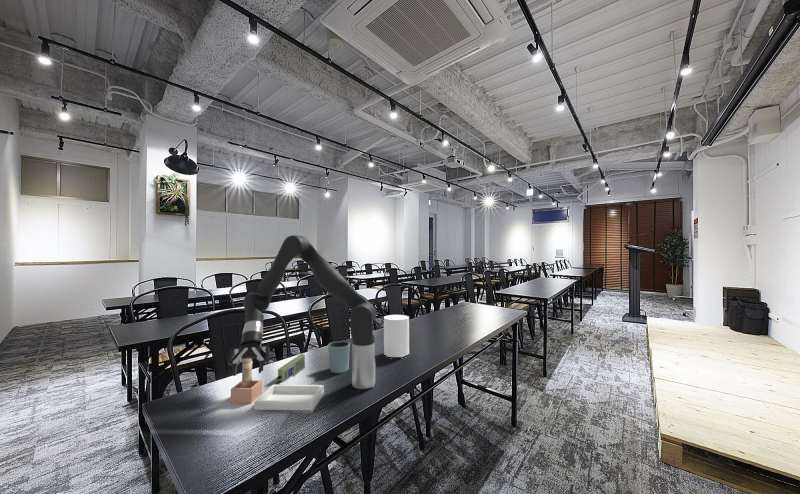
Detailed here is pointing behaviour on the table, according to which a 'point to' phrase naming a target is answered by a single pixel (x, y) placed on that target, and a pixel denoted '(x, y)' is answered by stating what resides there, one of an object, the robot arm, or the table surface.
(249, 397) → the pot
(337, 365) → the teal cup
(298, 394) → the tray
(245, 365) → the dowel pin
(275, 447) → the table surface
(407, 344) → the canister
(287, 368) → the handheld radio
